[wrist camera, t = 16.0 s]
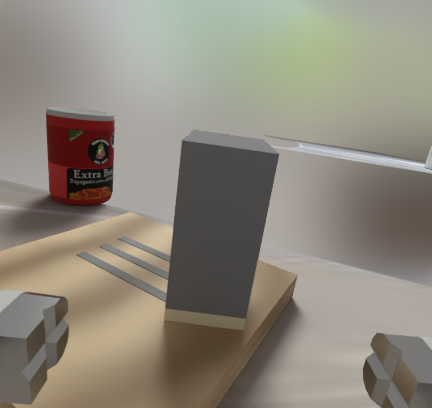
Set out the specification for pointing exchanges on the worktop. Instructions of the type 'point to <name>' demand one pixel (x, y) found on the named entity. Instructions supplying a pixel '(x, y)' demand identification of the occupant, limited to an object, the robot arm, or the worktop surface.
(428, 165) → the supplement box
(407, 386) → the robot arm
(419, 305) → the worktop surface
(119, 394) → the oak board
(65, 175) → the canned food
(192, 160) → the block
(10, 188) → the worktop surface
